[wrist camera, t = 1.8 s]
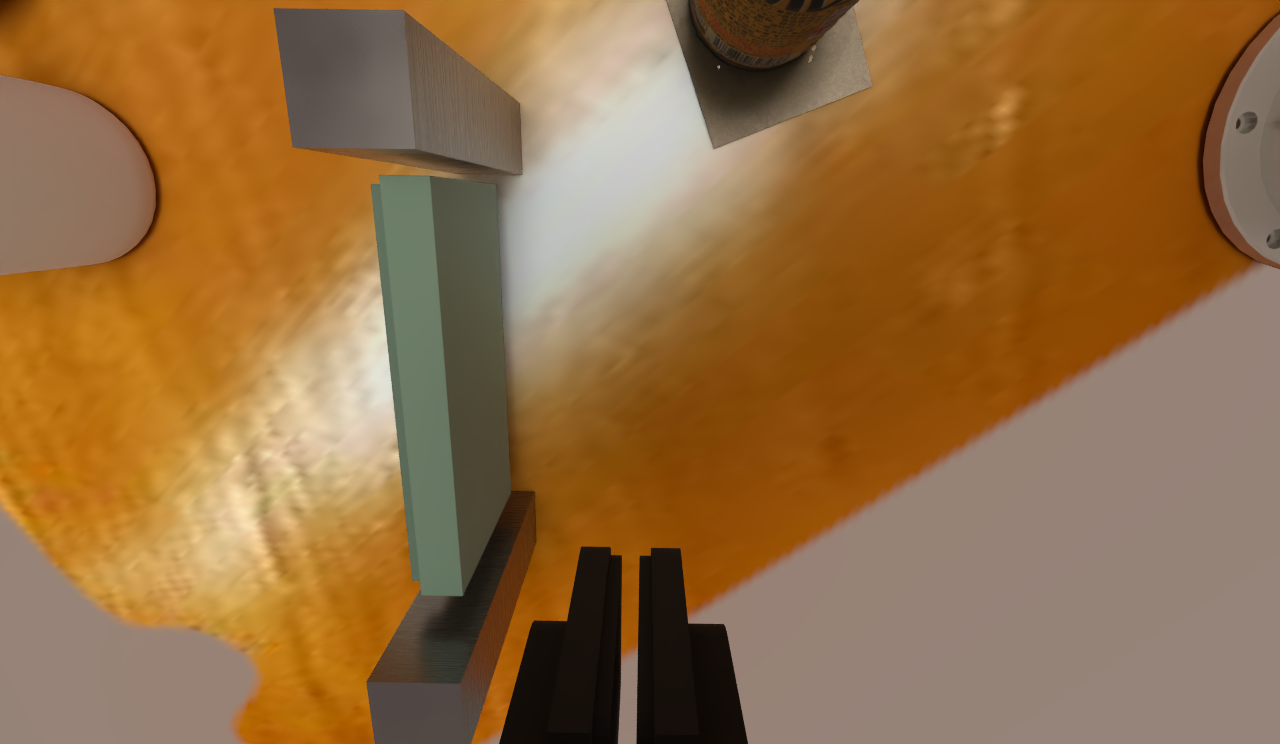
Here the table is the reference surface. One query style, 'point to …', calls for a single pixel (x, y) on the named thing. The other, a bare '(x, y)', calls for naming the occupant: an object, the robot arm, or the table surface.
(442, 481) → the gate
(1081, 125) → the table surface
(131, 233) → the milk bottle
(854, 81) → the condiment
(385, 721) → the gate posts
